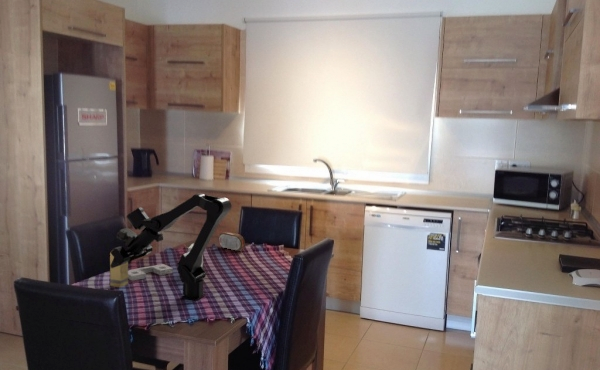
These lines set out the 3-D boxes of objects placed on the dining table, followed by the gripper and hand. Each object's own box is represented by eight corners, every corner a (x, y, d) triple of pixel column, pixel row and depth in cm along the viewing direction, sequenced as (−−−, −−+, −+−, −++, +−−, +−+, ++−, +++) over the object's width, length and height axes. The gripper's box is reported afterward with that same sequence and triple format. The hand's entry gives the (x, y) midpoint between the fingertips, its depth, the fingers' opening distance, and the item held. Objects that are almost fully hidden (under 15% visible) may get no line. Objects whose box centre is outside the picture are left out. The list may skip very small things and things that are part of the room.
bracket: (173, 272, 220) (173, 268, 219) (132, 280, 207) (132, 275, 207) (163, 268, 225) (163, 263, 225) (122, 276, 213) (122, 270, 213)
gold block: (128, 284, 203) (127, 251, 202) (120, 287, 199) (120, 253, 197) (118, 282, 205) (117, 249, 203) (110, 285, 200) (109, 252, 199)
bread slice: (244, 251, 259) (245, 234, 258) (240, 252, 256) (241, 235, 255) (221, 246, 267) (221, 230, 266) (217, 247, 264) (217, 231, 263)
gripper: (146, 218, 206) (122, 242, 211) (115, 226, 188) (89, 253, 193) (163, 240, 204) (138, 264, 209) (133, 251, 187) (107, 277, 192)
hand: (119, 264), depth 201 cm, fingers open, 9 cm apart
